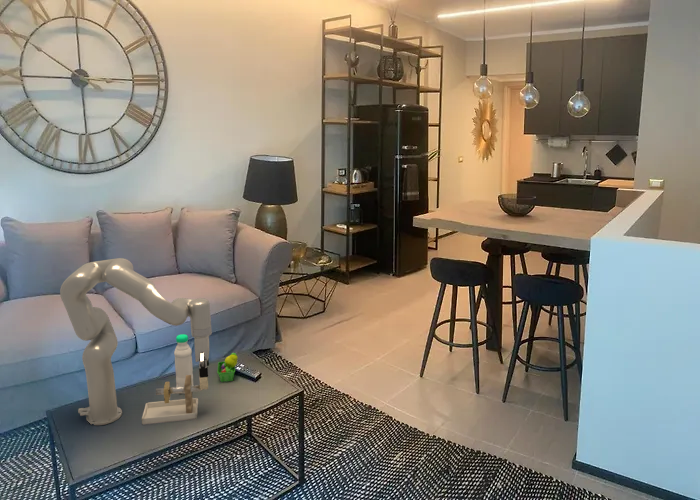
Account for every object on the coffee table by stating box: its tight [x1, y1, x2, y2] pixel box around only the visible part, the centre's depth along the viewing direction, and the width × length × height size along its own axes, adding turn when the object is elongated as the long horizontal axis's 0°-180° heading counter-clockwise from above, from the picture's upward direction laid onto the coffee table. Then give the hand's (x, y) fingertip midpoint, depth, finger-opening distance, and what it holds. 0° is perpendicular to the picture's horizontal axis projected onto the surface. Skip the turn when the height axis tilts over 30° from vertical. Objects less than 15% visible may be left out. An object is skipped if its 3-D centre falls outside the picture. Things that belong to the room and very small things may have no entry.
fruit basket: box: [216, 352, 239, 383], centre depth 240 cm, size 11×9×11 cm
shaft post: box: [184, 375, 194, 414], centre depth 211 cm, size 2×8×14 cm, turn 13°
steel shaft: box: [155, 375, 209, 396], centre depth 209 cm, size 20×3×9 cm, turn 103°
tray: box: [141, 397, 199, 426], centre depth 210 cm, size 20×12×2 cm, turn 103°
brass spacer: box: [163, 381, 171, 403], centre depth 208 cm, size 2×6×6 cm, turn 12°
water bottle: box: [173, 333, 194, 395], centre depth 226 cm, size 7×7×25 cm
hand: (204, 371), depth 210 cm, fingers open, 9 cm apart
